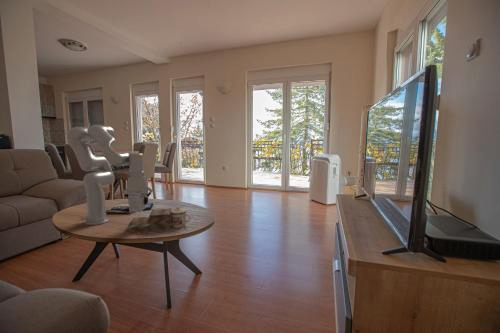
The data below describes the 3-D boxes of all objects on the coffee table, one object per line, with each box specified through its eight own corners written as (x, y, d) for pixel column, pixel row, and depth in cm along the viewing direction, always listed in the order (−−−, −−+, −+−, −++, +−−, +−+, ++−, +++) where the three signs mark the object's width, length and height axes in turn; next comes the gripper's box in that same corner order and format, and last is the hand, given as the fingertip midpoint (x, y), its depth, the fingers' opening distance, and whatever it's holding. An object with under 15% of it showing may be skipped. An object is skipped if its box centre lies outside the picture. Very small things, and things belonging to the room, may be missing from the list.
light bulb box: (136, 206, 142) (135, 189, 141) (148, 206, 143) (147, 189, 142) (128, 212, 132) (127, 193, 131) (141, 211, 132) (140, 193, 131)
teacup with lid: (168, 227, 140) (167, 208, 139) (174, 222, 149) (174, 204, 148) (187, 228, 139) (187, 209, 137) (193, 223, 148) (192, 205, 146)
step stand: (126, 235, 127) (126, 219, 126) (133, 225, 143) (132, 210, 142) (169, 232, 133) (169, 216, 132) (171, 222, 149) (171, 208, 148)
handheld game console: (150, 210, 174) (150, 198, 173) (131, 211, 171) (130, 199, 170) (153, 204, 189) (153, 193, 188) (135, 205, 186) (135, 194, 185)
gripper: (118, 176, 129) (120, 207, 131) (152, 174, 134) (153, 205, 136) (122, 174, 137) (123, 203, 138) (154, 173, 141) (155, 202, 143)
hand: (138, 204), depth 137 cm, fingers closed on light bulb box, 7 cm apart
